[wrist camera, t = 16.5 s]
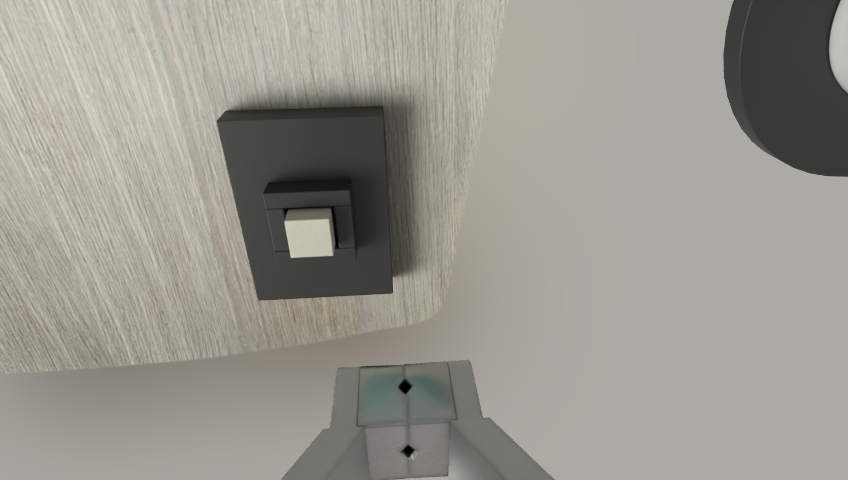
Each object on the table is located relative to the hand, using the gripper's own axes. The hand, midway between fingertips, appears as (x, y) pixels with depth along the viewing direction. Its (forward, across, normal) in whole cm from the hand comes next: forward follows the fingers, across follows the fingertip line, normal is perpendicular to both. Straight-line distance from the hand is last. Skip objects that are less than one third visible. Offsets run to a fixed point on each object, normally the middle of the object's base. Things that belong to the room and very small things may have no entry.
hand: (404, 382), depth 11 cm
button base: (+27, +6, +9) cm, 29 cm away
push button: (+23, +6, +9) cm, 26 cm away
